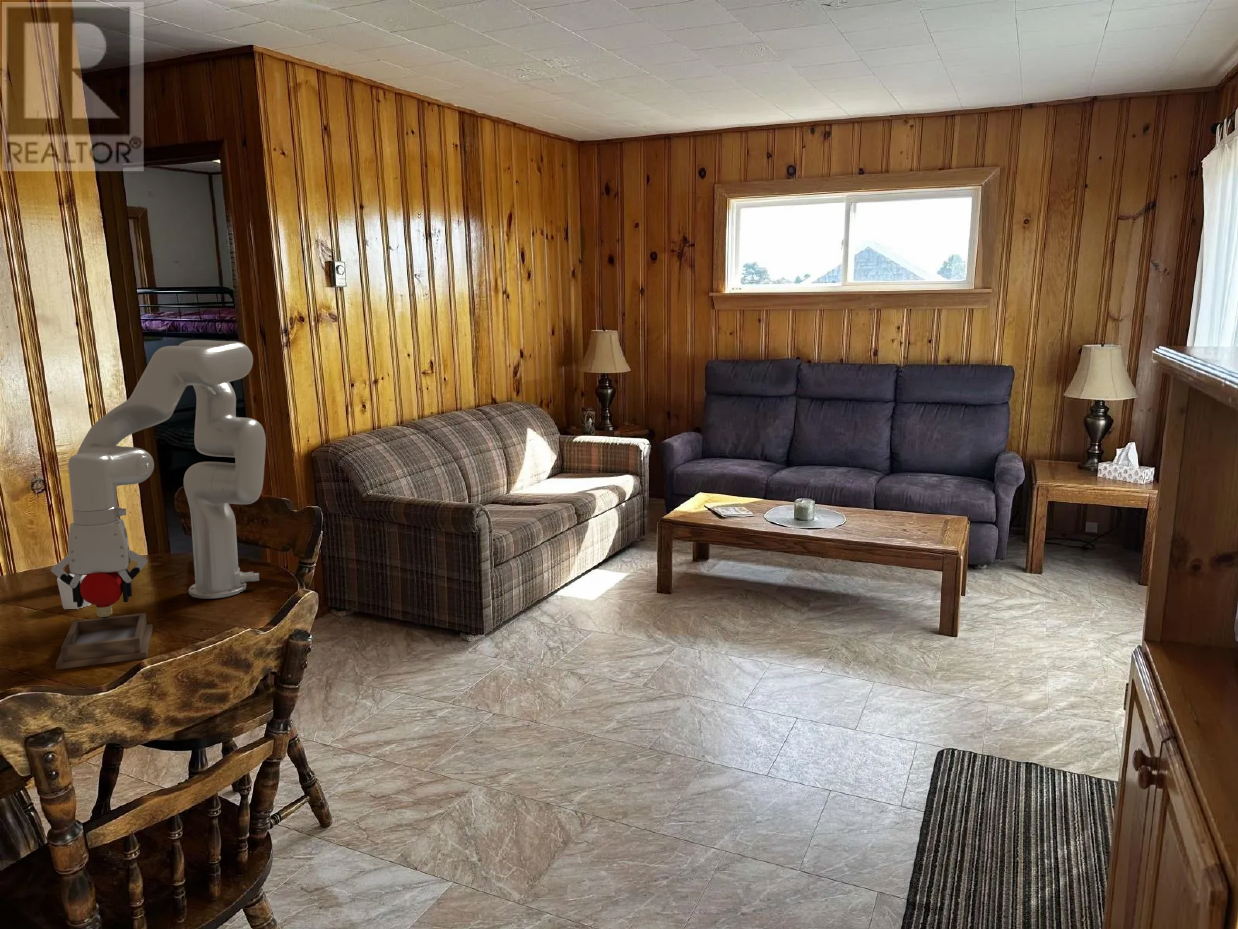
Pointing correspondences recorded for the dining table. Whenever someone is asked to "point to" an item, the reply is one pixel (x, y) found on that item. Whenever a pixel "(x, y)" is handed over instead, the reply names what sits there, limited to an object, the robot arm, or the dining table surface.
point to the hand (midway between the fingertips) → (103, 602)
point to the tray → (105, 641)
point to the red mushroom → (102, 591)
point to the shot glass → (69, 595)
